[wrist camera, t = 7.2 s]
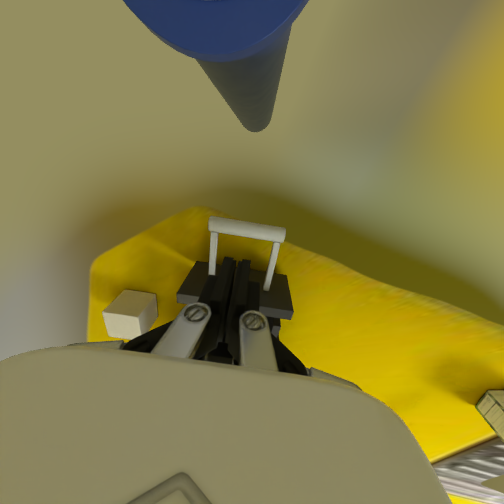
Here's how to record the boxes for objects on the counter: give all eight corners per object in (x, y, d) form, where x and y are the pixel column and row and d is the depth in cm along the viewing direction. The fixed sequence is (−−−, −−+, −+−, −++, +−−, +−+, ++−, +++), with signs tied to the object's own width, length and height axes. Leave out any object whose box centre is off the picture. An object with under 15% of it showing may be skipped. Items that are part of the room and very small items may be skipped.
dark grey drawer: (198, 203, 21) (173, 221, 15) (302, 220, 21) (316, 244, 15) (194, 334, 30) (179, 375, 25) (266, 345, 30) (267, 388, 25)
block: (124, 289, 28) (101, 311, 24) (156, 293, 28) (138, 317, 24) (129, 312, 30) (108, 336, 26) (158, 316, 30) (142, 341, 26)
